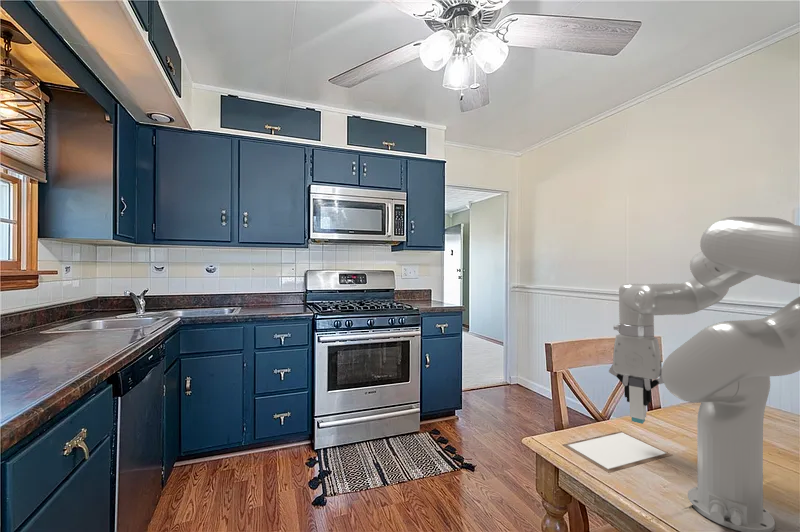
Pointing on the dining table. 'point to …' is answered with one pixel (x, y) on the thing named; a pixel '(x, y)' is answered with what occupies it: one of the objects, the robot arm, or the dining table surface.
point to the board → (620, 466)
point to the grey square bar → (637, 399)
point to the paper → (616, 450)
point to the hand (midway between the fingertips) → (637, 401)
